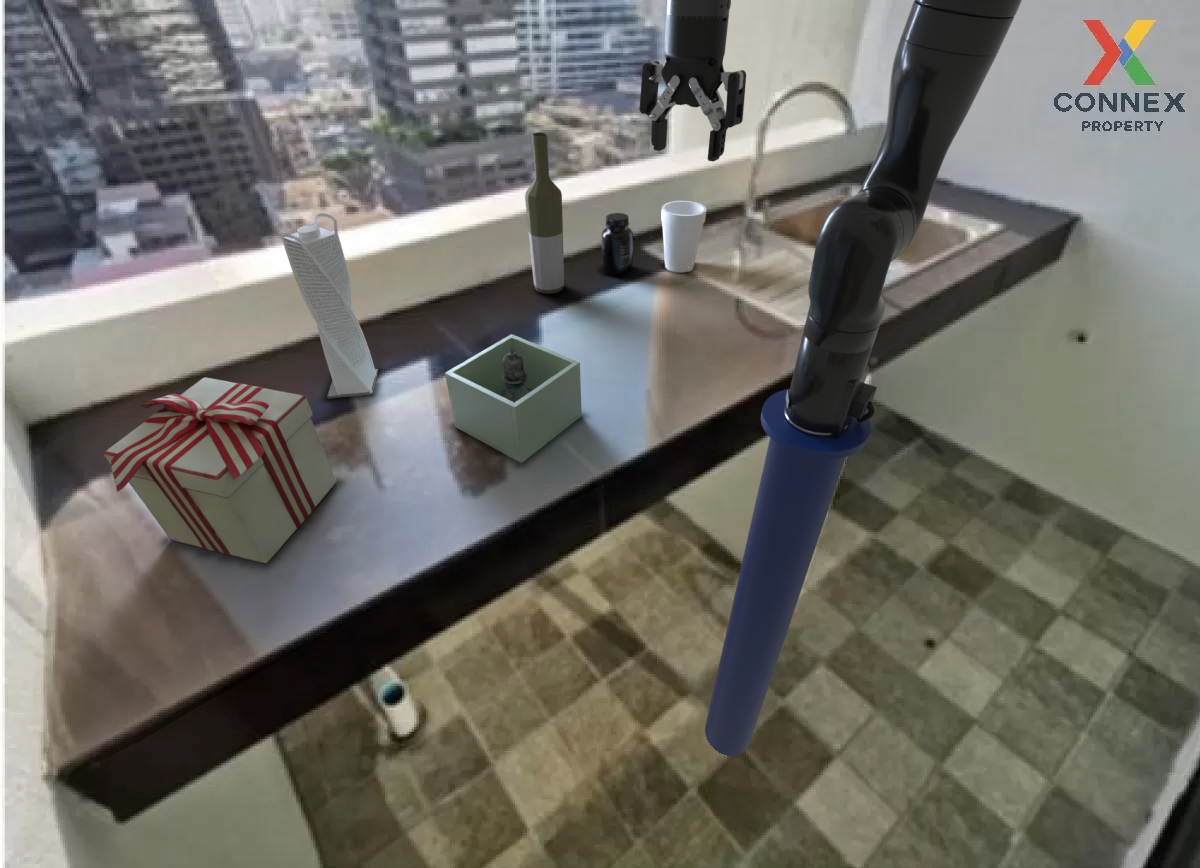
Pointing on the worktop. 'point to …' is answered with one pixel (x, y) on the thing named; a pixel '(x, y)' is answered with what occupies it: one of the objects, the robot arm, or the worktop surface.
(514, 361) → the dark grey turned piece
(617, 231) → the supplement bottle
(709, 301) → the worktop surface
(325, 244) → the skyscraper
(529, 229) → the bottle
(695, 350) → the worktop surface
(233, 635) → the worktop surface
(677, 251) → the foam cup
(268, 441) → the gift box
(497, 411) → the waste bin
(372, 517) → the worktop surface
